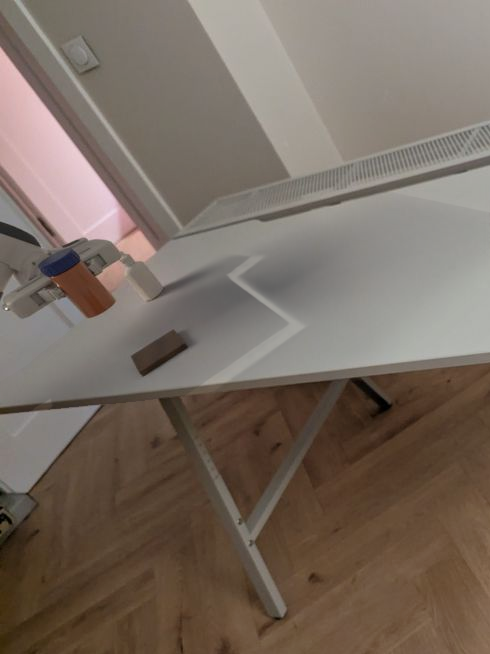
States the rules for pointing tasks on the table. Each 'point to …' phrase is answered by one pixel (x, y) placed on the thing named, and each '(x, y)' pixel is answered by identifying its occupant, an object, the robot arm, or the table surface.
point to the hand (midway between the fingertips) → (78, 281)
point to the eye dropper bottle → (141, 278)
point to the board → (158, 352)
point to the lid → (58, 262)
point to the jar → (84, 290)
